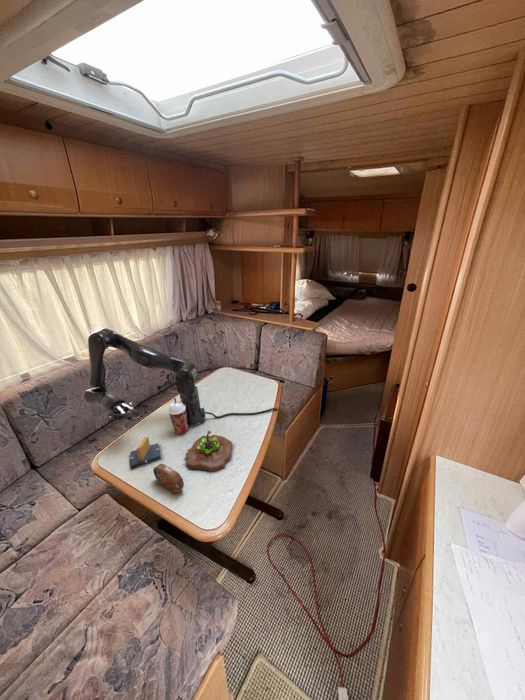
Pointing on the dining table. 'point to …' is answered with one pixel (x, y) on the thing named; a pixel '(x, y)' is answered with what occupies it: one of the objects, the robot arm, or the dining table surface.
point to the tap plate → (150, 456)
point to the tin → (168, 478)
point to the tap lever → (143, 448)
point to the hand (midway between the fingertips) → (134, 415)
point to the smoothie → (178, 416)
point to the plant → (209, 453)
